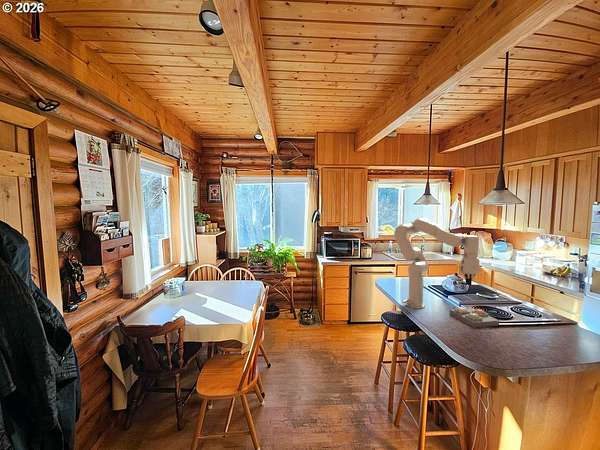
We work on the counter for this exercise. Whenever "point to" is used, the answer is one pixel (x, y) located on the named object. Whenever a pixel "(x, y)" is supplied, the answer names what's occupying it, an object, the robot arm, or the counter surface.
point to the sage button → (473, 315)
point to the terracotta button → (479, 311)
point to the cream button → (462, 309)
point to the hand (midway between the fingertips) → (468, 284)
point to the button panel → (481, 321)
